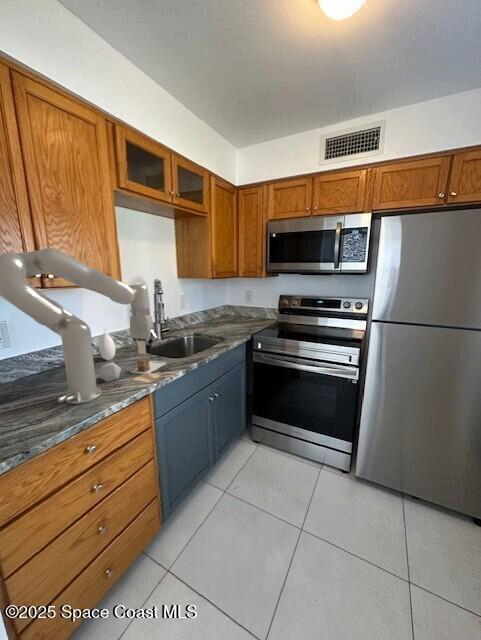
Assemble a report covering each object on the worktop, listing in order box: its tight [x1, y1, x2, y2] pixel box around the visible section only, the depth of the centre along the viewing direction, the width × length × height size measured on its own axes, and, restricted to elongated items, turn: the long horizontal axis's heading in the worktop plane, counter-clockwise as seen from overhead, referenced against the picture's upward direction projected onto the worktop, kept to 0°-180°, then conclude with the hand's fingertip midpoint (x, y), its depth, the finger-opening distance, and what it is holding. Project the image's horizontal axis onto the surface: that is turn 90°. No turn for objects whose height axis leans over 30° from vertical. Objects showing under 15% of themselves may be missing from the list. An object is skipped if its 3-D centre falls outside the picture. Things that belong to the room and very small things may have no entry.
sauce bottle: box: [98, 329, 116, 361], centre depth 148 cm, size 8×8×18 cm
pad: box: [131, 372, 161, 384], centre depth 123 cm, size 9×9×1 cm
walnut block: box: [136, 356, 150, 372], centre depth 131 cm, size 4×4×6 cm
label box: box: [136, 339, 149, 355], centre depth 120 cm, size 4×4×6 cm
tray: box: [129, 360, 167, 375], centre depth 135 cm, size 16×10×1 cm, turn 162°
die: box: [98, 362, 122, 383], centre depth 121 cm, size 8×9×10 cm
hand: (144, 351), depth 121 cm, fingers closed on label box, 4 cm apart
